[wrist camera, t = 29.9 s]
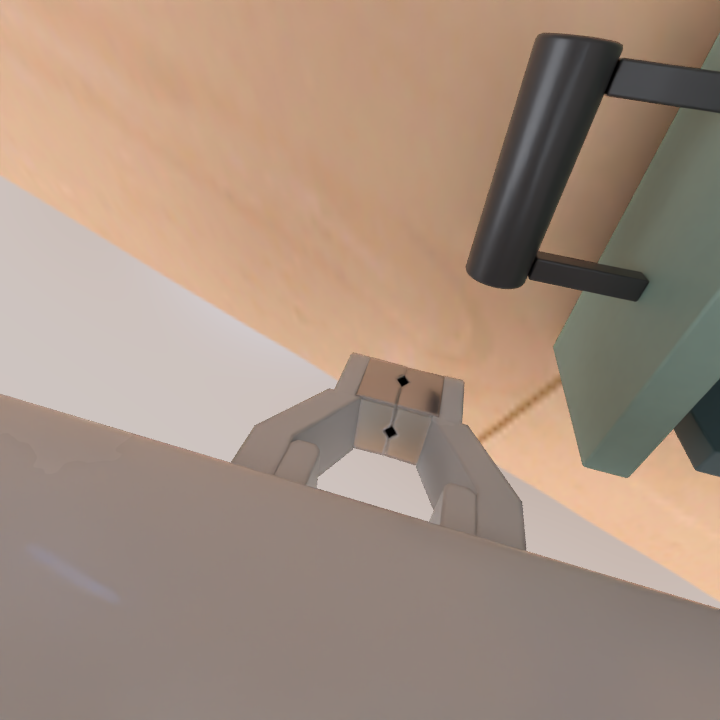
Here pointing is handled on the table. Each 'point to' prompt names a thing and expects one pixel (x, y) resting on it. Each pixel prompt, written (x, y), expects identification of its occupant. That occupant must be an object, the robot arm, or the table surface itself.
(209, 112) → the table surface
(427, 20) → the table surface
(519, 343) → the table surface
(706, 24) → the table surface
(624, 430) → the drawer
